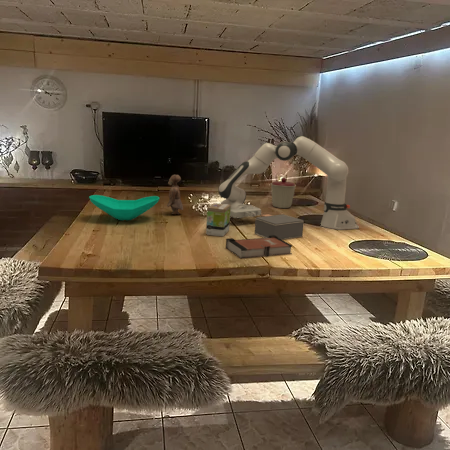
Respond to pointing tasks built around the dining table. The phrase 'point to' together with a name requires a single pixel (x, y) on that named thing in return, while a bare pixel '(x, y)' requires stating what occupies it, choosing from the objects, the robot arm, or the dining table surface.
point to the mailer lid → (279, 219)
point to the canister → (282, 193)
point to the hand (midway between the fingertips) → (253, 215)
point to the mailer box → (279, 230)
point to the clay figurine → (174, 194)
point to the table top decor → (124, 206)
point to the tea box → (218, 219)
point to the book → (258, 247)
